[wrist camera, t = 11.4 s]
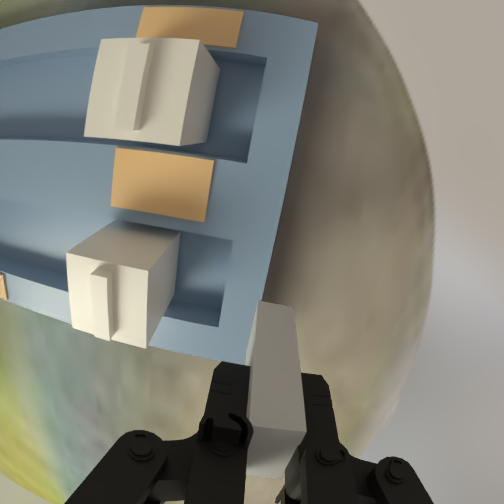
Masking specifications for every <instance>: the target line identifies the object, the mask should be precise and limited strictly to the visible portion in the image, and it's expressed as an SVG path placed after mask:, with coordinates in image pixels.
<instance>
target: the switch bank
mask: <svg viewBox="0 0 504 504" xmlns="http://www.w3.org/2000/svg"><path fill="white" fill-rule="evenodd" d="M317 28H318V23H317V22H313V21H308V20H304V19H299V18H294V17H289V16H284V15H278V14H272V13H266V12H259V11H252V10H244V9H236V8H226V7H214V6H197V5H138V6H121V7H110V8H100V9H92V10H84V11H77V12H71V13H65V14H59V15H54V16H49V17H44V18H40V19H35V20H31V21H27V22H23V23H19V24H16V25H12V26H8V27H5V28H2V29H0V298H1V299H3V300H6V301H8V302H11V303H14V304H16V305H19V306H21V307H24V308H27V309H30V310H32V311H35V312H38V313H41V314H44V315H46V316H49V317H52V318H55V319H58V320H61V321H64V322H67V323H70V324H72V319H71V311H70V302H69V291H68V278H67V262H66V252H68V251H69V250H71V249H72V248H73V247H75V246H76V245H78V244H79V243H81V242H82V241H84V240H85V239H87V238H88V237H90V236H91V235H93V234H94V233H96V232H97V231H99V230H100V229H102V228H103V227H105V226H106V225H108V224H109V223H111V222H112V221H114V220H116V219H117V220H123V221H128V222H134V223H139V224H145V225H150V226H156V227H162V228H167V229H173V230H178V231H181V234H180V243H179V252H178V262H177V272H176V283H175V294H174V296H173V298H172V300H171V302H170V304H169V305H168V307H167V309H166V311H165V313H164V315H163V317H162V319H161V321H160V323H159V325H158V327H157V329H156V331H155V332H154V334H153V336H152V338H151V340H150V342H149V344H148V345H149V346H153V347H157V348H161V349H165V350H170V351H174V352H179V353H183V354H188V355H193V356H198V357H202V358H208V359H213V360H218V361H225V362H230V363H236V364H241V365H245V362H246V352H247V347H248V343H249V339H250V334H251V330H252V325H253V321H254V316H255V312H256V307H257V303H258V301H261V300H262V296H263V291H264V287H265V282H266V278H267V274H268V269H269V265H270V260H271V256H272V251H273V246H274V242H275V237H276V233H277V228H278V223H279V219H280V214H281V209H282V205H283V200H284V195H285V191H286V186H287V181H288V176H289V171H290V167H291V162H292V157H293V152H294V147H295V142H296V137H297V132H298V127H299V122H300V117H301V112H302V107H303V102H304V97H305V92H306V87H307V82H308V76H309V71H310V66H311V61H312V55H313V50H314V45H315V39H316V34H317ZM112 38H179V39H196V40H200V41H201V42H202V44H203V45H204V46H205V48H206V49H207V51H208V52H209V53H210V55H211V56H212V58H213V59H214V60H215V62H216V63H217V65H218V66H219V68H220V73H219V78H218V83H217V88H216V93H215V98H214V104H213V109H212V114H211V120H210V125H209V131H208V137H207V142H205V143H197V144H190V145H183V146H175V145H167V144H159V143H151V142H142V141H132V140H121V139H110V138H97V137H84V131H85V123H86V116H87V109H88V102H89V96H90V90H91V85H92V79H93V74H94V69H95V64H96V60H97V55H98V51H99V46H100V42H101V39H112Z"/></svg>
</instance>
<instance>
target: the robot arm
mask: <svg viewBox="0 0 504 504" xmlns="http://www.w3.org/2000/svg"><path fill="white" fill-rule="evenodd" d="M330 398H331V395H330V390H329V385H328V384H327V382H326V381H325V380H324V378H323V377H322V375H316V374H307V373H301V369H300V360H299V351H298V342H297V334H296V325H295V317H294V309H293V307H291V306H286V305H280V304H274V303H269V302H263V301H258V303H257V307H256V312H255V316H254V321H253V325H252V330H251V334H250V339H249V343H248V347H247V352H246V362H245V365H241V364H236V363H230V362H225V361H222V362H221V363H220V364H219V365H218V366H217V367H216V368H215V369H214V372H213V376H212V381H211V385H210V390H209V394H208V399H207V403H206V408H205V413H204V416H203V417H202V419H201V421H200V423H199V431H198V432H197V433H196V434H194V435H193V436H191V437H189V438H186V439H183V440H171V441H162V439H161V438H160V437H158V436H157V435H155V434H154V433H151V432H148V431H145V430H134V431H130V432H127V433H125V434H124V435H122V436H121V437H120V438H119V439H118V440H117V441H116V443H115V444H114V445H113V446H112V447H111V449H110V450H109V451H108V452H107V453H106V455H105V456H104V457H103V458H102V459H101V461H100V462H99V463H98V464H97V465H96V467H95V468H94V469H93V470H92V471H91V473H90V474H89V475H88V476H87V477H86V479H85V480H84V481H83V482H82V483H81V485H80V486H79V487H78V488H77V489H76V490H75V492H74V493H73V494H72V495H71V496H70V498H69V499H68V500H67V501H66V502H65V503H64V504H164V503H165V501H180V500H185V501H184V504H244V493H245V480H246V476H253V477H262V478H273V479H281V478H282V476H283V474H284V473H285V485H284V486H283V488H282V490H281V491H280V493H279V494H278V496H277V497H276V501H275V503H279V502H280V500H281V504H434V503H433V502H432V500H431V498H430V496H429V495H428V493H427V491H426V490H425V488H424V486H423V485H422V483H421V481H420V479H419V478H418V476H417V474H416V473H415V471H414V469H413V468H412V467H411V466H410V464H409V463H408V462H407V461H405V460H403V459H402V458H398V457H386V458H384V459H382V460H380V461H379V463H378V464H376V463H372V462H368V461H364V460H360V459H358V458H355V457H353V456H351V455H350V454H349V453H348V450H347V449H346V448H345V447H344V446H343V445H342V444H341V443H340V442H339V439H338V433H337V427H336V422H335V416H334V411H333V408H332V400H331V399H330Z"/></svg>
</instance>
